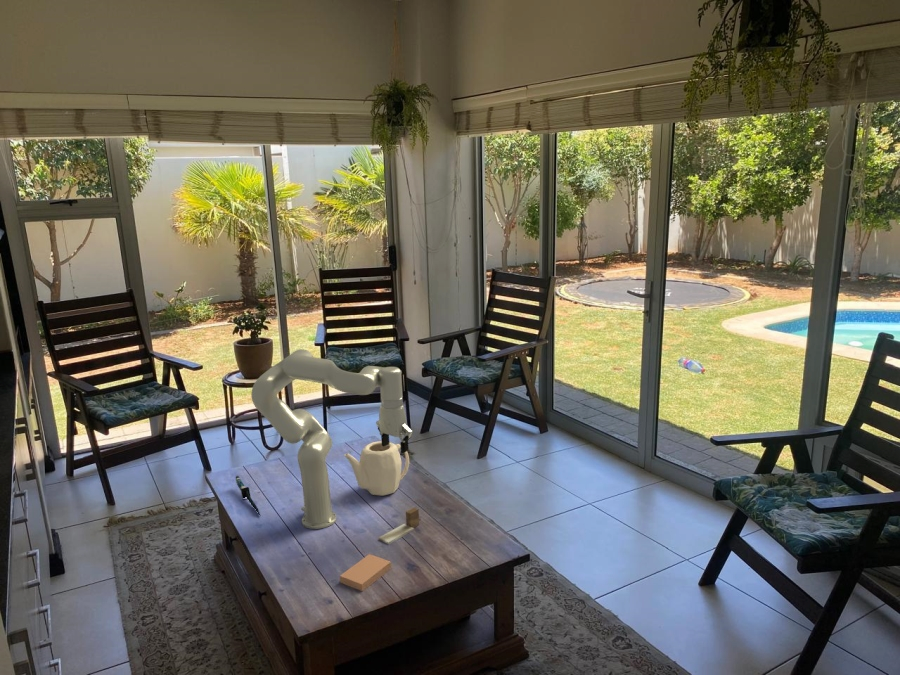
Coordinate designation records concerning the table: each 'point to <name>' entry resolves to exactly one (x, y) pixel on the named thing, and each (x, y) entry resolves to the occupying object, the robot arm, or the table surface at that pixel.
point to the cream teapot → (379, 468)
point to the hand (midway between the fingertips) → (395, 448)
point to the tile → (365, 572)
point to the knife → (245, 492)
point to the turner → (402, 527)
